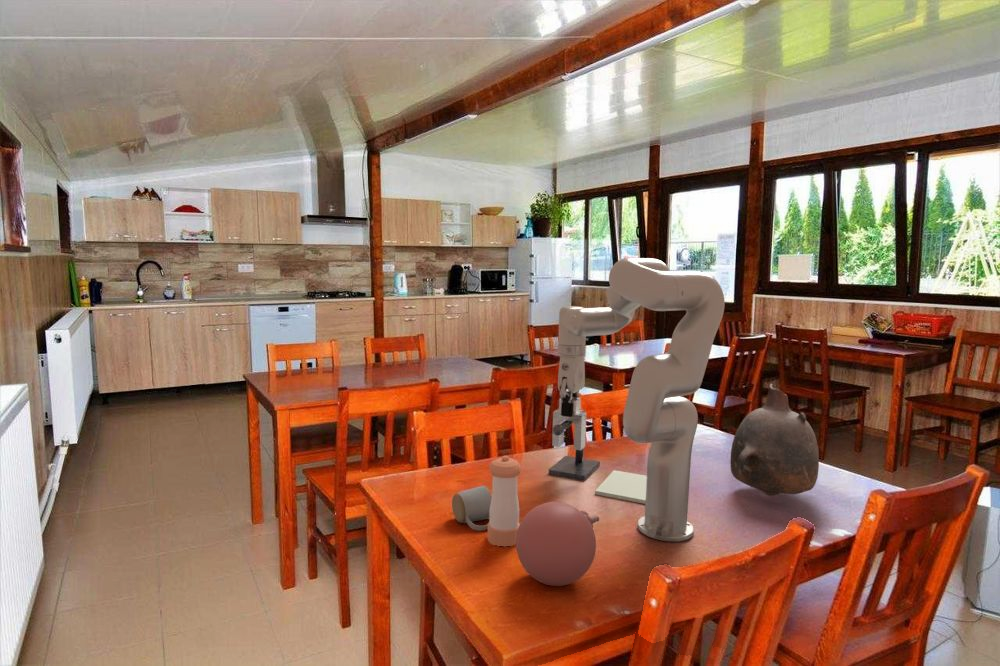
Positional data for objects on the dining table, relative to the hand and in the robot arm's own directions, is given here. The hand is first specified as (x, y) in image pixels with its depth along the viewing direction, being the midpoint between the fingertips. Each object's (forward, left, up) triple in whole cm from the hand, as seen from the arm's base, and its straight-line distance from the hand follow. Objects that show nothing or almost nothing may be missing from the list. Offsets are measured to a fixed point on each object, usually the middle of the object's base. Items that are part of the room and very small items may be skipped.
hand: (569, 413), depth 174 cm
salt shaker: (-44, -1, -19) cm, 48 cm away
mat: (0, -20, -18) cm, 27 cm away
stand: (+1, 0, -18) cm, 19 cm away
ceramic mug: (-39, +9, -19) cm, 44 cm away
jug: (+13, -53, -19) cm, 58 cm away
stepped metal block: (0, 0, -9) cm, 9 cm away
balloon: (-53, -18, -19) cm, 59 cm away
